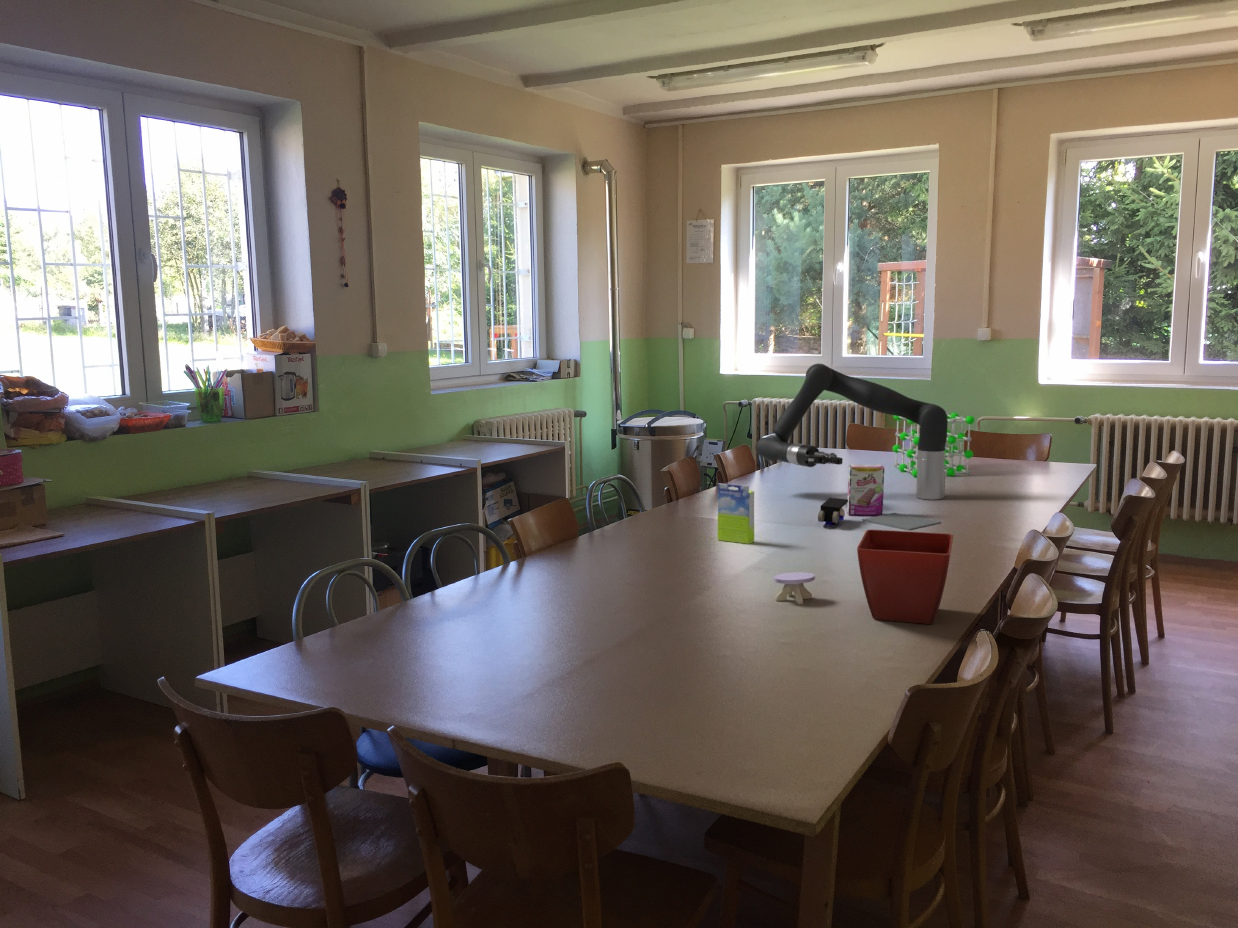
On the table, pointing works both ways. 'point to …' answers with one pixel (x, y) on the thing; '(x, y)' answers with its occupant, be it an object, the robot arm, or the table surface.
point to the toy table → (794, 586)
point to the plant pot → (904, 573)
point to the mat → (901, 521)
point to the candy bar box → (865, 490)
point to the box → (735, 514)
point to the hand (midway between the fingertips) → (841, 461)
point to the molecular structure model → (953, 449)
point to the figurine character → (832, 511)
